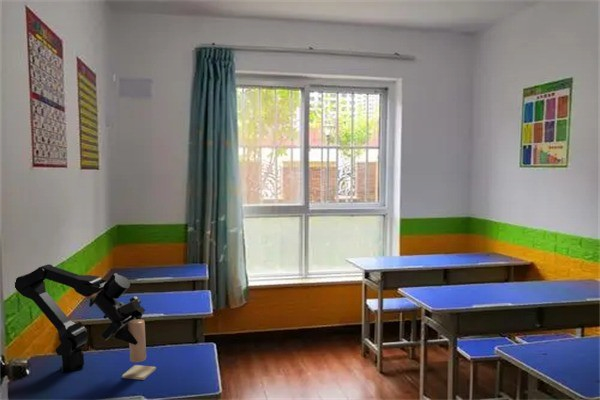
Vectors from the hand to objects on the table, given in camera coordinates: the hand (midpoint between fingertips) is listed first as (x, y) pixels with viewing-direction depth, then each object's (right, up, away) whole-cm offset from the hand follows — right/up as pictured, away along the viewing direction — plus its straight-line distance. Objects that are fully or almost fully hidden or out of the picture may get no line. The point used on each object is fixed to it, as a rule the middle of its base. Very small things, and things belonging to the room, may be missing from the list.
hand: (141, 340), depth 161 cm
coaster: (-1, -12, +1) cm, 12 cm away
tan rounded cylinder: (-1, -6, +1) cm, 7 cm away
